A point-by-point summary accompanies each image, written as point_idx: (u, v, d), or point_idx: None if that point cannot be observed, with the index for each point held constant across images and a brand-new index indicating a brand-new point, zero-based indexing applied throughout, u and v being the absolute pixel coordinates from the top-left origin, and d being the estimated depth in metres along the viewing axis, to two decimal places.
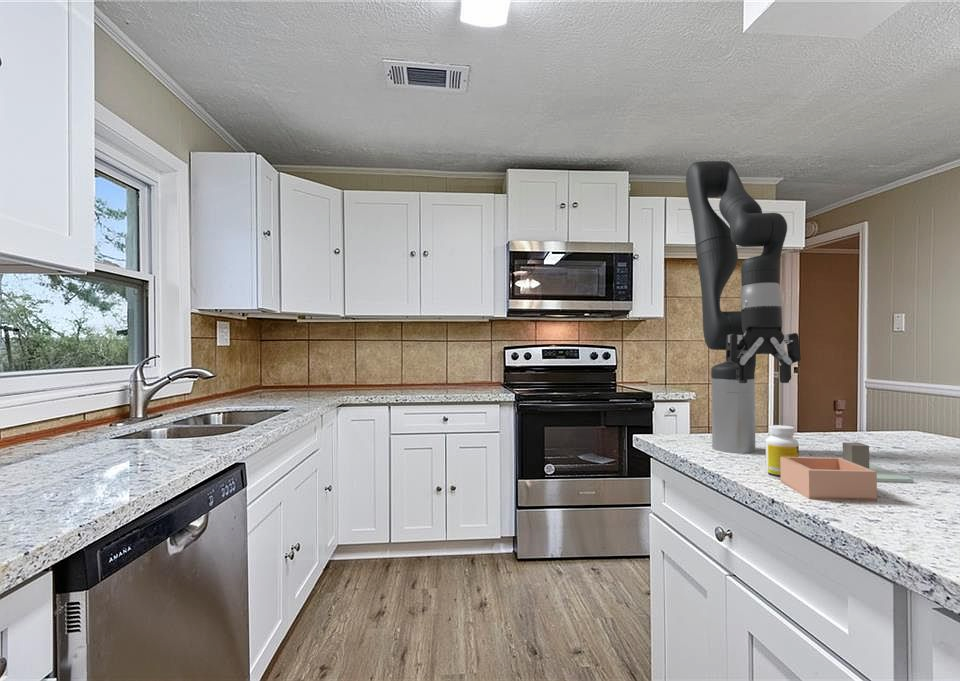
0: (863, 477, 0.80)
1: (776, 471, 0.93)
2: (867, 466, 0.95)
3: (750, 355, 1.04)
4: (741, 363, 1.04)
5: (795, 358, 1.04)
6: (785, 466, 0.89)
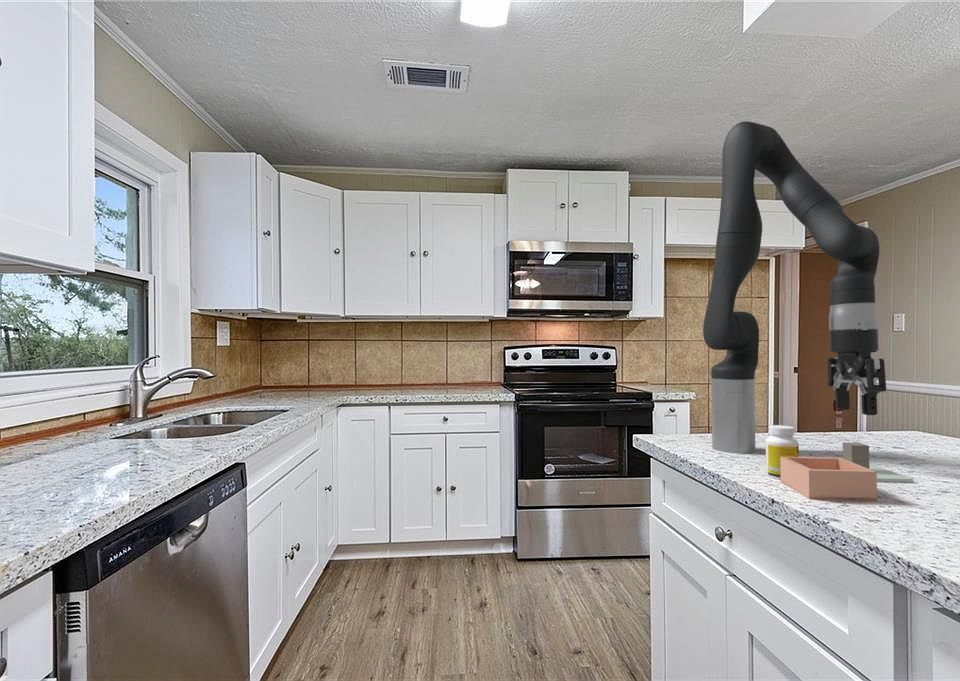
0: (863, 477, 0.80)
1: (776, 471, 0.93)
2: (867, 466, 0.95)
3: None
4: (878, 392, 0.91)
5: None
6: (785, 466, 0.89)
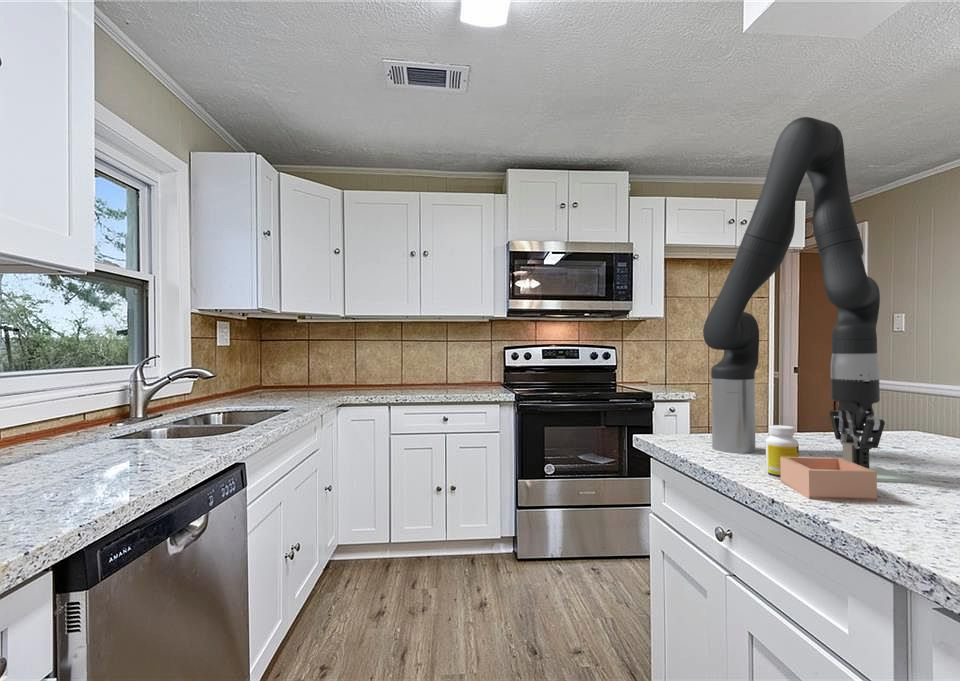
0: (863, 477, 0.80)
1: (776, 471, 0.93)
2: None
3: None
4: (870, 447, 0.94)
5: None
6: (785, 466, 0.89)
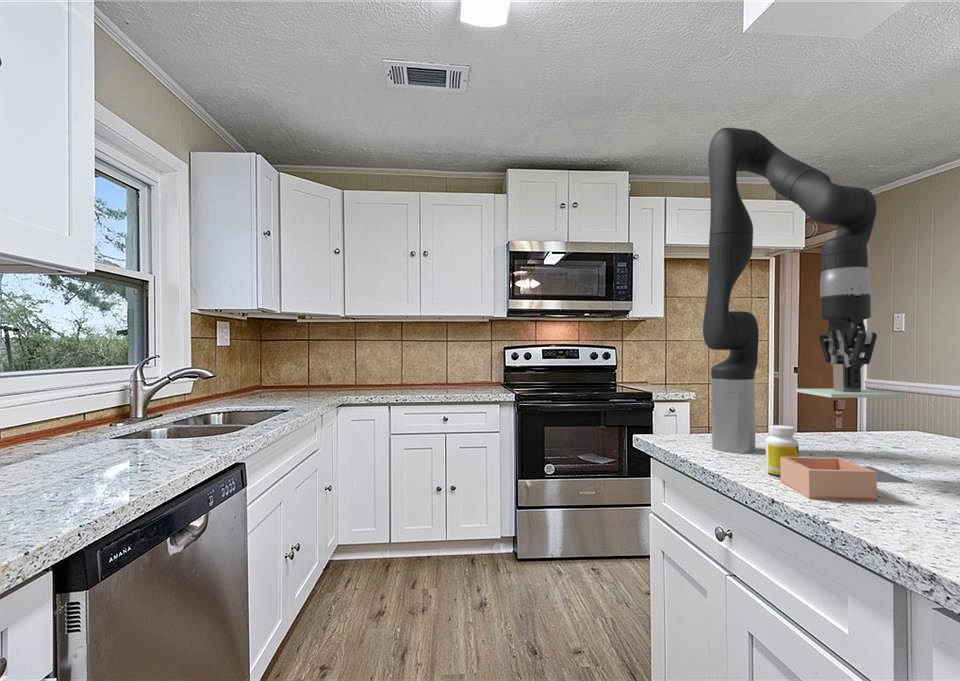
0: (863, 477, 0.80)
1: (776, 471, 0.93)
2: None
3: None
4: None
5: None
6: (785, 466, 0.89)
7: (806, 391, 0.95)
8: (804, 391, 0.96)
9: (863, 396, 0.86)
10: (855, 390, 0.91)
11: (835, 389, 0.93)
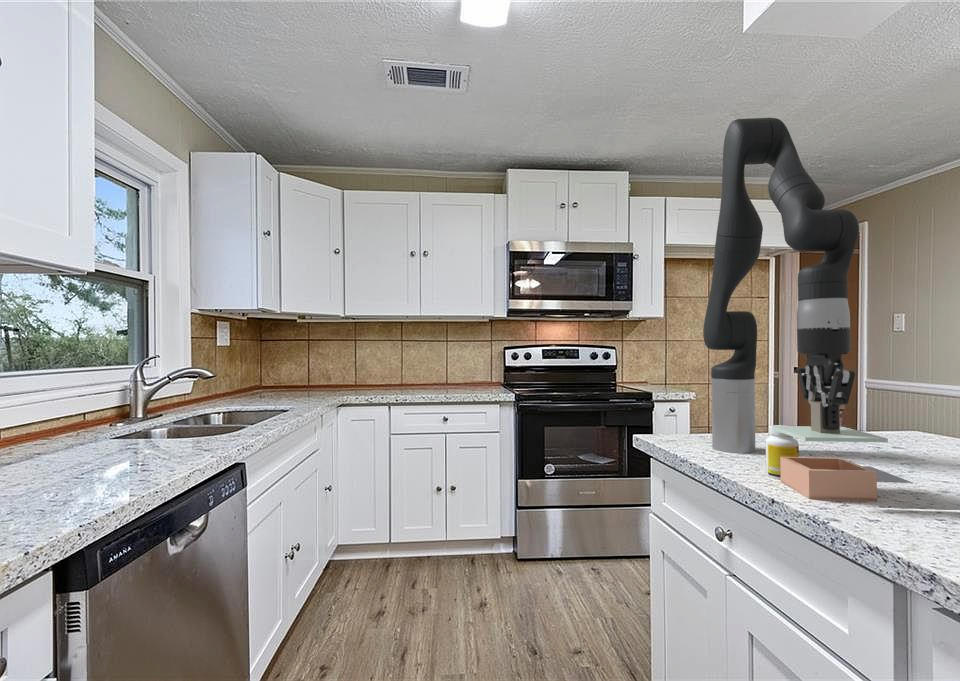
0: (863, 477, 0.80)
1: (776, 471, 0.93)
2: None
3: None
4: None
5: None
6: (785, 466, 0.89)
7: (781, 430, 0.88)
8: (780, 430, 0.89)
9: (840, 440, 0.79)
10: (833, 431, 0.84)
11: (812, 429, 0.86)
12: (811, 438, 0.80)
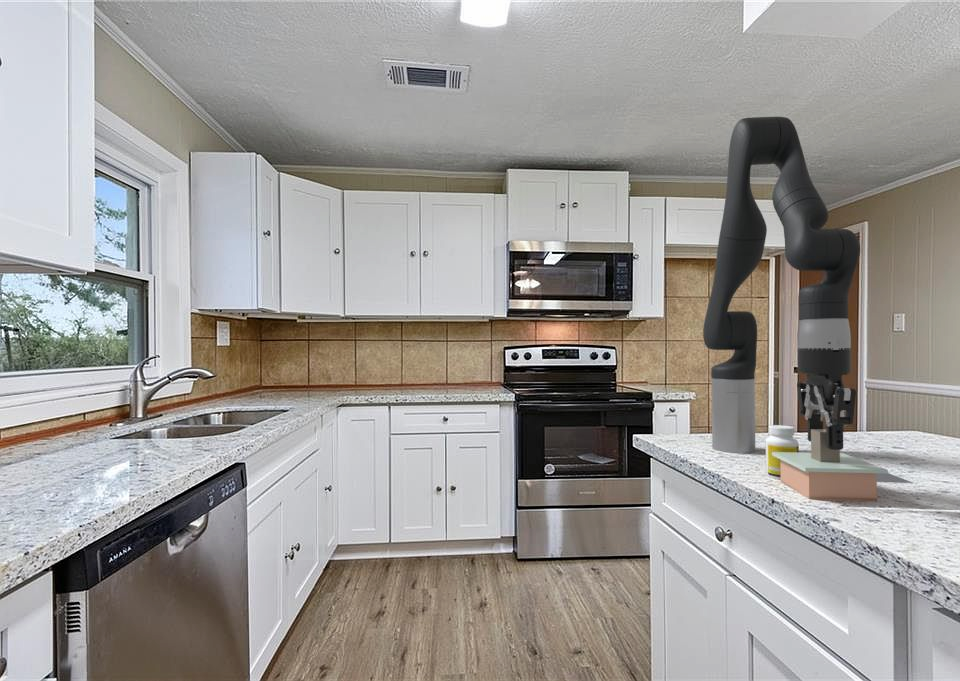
0: (863, 477, 0.80)
1: (776, 471, 0.93)
2: (837, 455, 0.84)
3: None
4: (844, 424, 0.81)
5: (816, 411, 0.90)
6: (785, 466, 0.89)
7: (781, 457, 0.88)
8: (779, 457, 0.89)
9: (840, 471, 0.79)
10: (833, 460, 0.84)
11: (812, 457, 0.86)
12: (811, 469, 0.80)
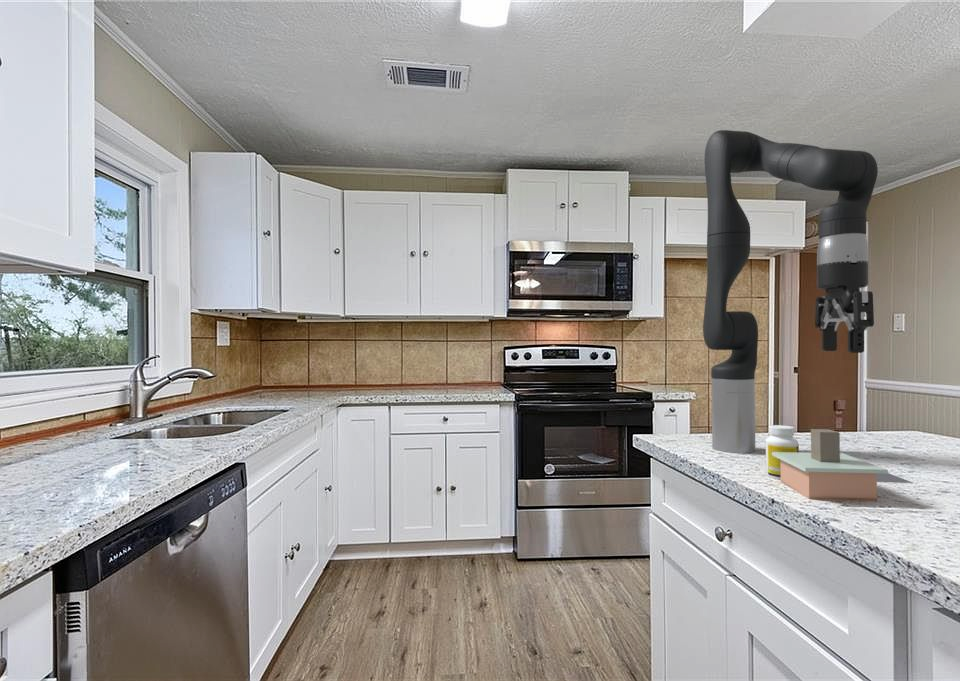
0: (863, 477, 0.80)
1: (776, 471, 0.93)
2: (837, 455, 0.84)
3: None
4: (866, 328, 0.85)
5: (830, 324, 0.96)
6: (785, 466, 0.89)
7: (781, 457, 0.88)
8: (779, 457, 0.89)
9: (840, 471, 0.79)
10: (833, 460, 0.84)
11: (812, 457, 0.86)
12: (811, 469, 0.80)
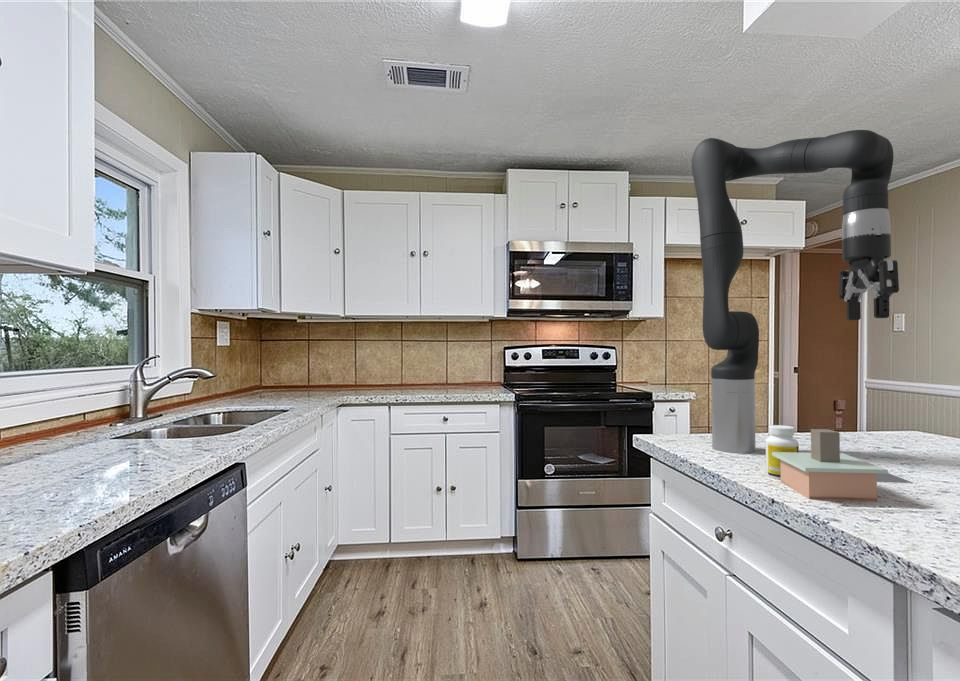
0: (863, 477, 0.80)
1: (776, 471, 0.93)
2: (837, 455, 0.84)
3: None
4: (890, 295, 0.92)
5: None
6: (785, 466, 0.89)
7: (781, 457, 0.88)
8: (779, 457, 0.89)
9: (840, 471, 0.79)
10: (833, 460, 0.84)
11: (812, 457, 0.86)
12: (811, 469, 0.80)
